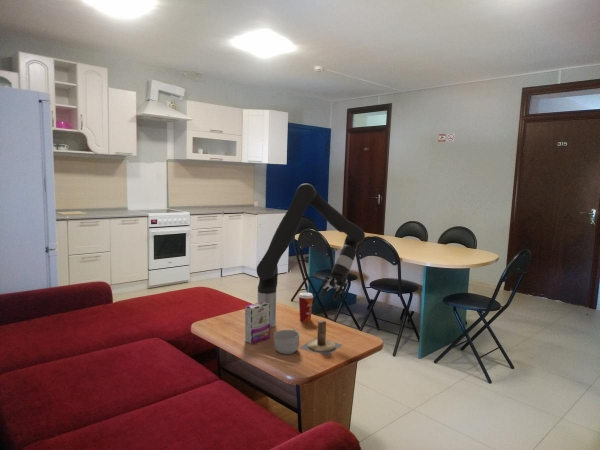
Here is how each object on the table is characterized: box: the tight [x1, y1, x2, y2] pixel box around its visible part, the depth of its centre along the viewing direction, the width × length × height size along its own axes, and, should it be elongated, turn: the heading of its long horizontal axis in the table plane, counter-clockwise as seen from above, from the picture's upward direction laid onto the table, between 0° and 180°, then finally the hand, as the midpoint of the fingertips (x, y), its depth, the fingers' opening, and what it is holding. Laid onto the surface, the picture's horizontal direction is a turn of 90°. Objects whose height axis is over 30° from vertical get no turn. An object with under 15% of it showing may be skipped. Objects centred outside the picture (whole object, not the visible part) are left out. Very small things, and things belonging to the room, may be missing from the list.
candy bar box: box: [244, 301, 271, 345], centre depth 180 cm, size 11×5×16 cm, turn 137°
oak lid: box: [307, 319, 336, 352], centre depth 174 cm, size 12×12×11 cm
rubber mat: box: [299, 337, 343, 356], centre depth 174 cm, size 14×14×1 cm
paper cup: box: [298, 292, 314, 323], centre depth 209 cm, size 8×8×14 cm
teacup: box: [273, 328, 300, 355], centre depth 170 cm, size 14×11×8 cm
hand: (328, 298), depth 181 cm, fingers open, 8 cm apart
